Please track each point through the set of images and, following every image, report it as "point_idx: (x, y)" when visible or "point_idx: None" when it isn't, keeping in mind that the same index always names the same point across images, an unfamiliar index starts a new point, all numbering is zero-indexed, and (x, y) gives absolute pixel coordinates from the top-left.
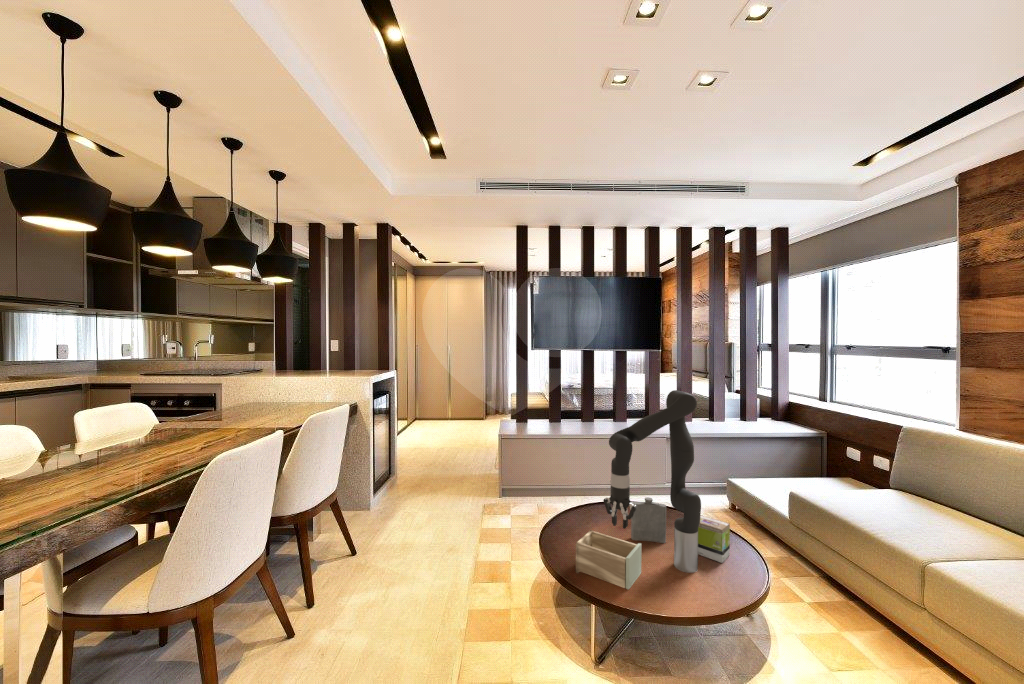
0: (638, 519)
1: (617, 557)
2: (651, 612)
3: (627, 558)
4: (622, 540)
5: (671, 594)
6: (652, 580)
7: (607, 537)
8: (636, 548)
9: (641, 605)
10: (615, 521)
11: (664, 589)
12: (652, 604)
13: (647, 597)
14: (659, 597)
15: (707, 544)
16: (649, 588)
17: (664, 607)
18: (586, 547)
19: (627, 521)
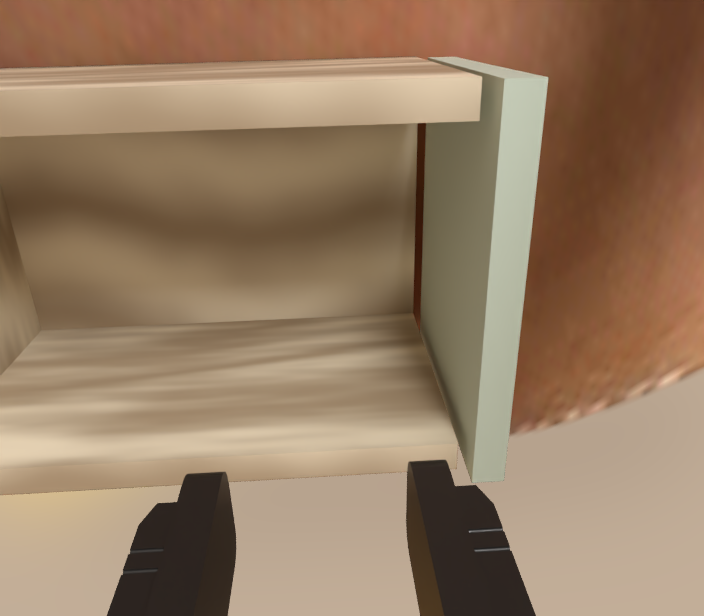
0: None
1: (377, 468)
2: (602, 399)
3: (486, 479)
4: (257, 99)
5: (700, 155)
6: (545, 61)
7: (38, 135)
8: (517, 249)
9: (539, 380)
10: (221, 591)
11: (648, 126)
12: (595, 334)
13: (555, 290)
14: (626, 242)
15: None
16: (546, 185)
17: (665, 317)
18: (28, 486)
19: (521, 606)
